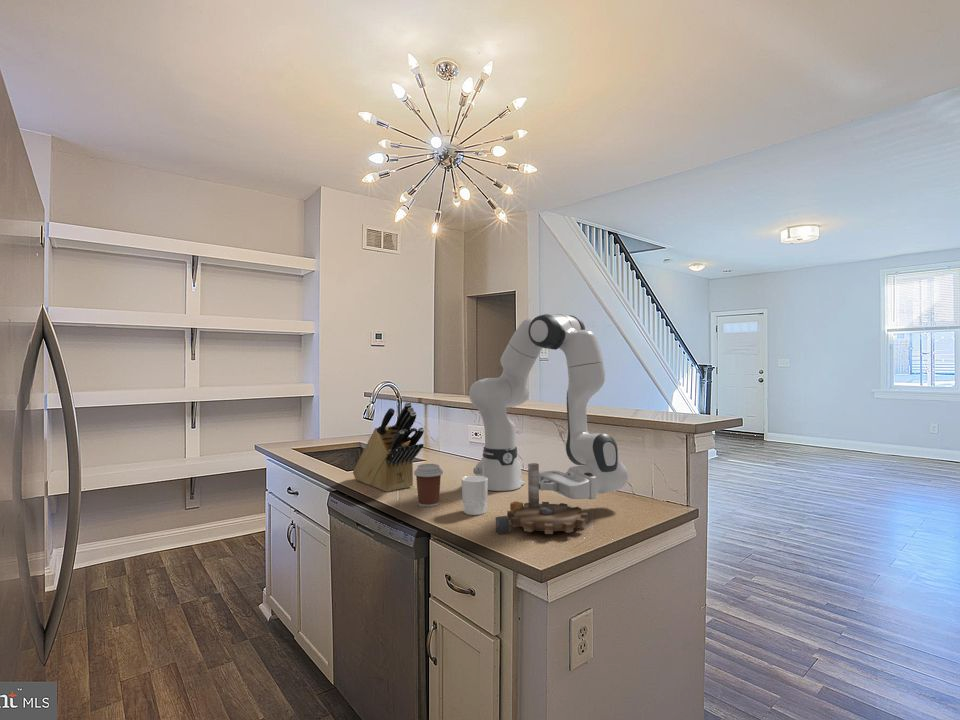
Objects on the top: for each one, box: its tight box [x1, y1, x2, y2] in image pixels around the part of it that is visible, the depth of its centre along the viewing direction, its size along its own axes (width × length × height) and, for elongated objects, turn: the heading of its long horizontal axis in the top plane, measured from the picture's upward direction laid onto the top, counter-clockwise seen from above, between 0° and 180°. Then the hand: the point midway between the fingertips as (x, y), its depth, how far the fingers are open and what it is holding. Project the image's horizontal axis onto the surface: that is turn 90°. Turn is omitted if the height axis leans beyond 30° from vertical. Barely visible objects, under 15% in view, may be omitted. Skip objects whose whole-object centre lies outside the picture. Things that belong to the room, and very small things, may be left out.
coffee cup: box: [413, 463, 444, 507], centre depth 161 cm, size 9×9×12 cm
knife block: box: [352, 401, 425, 493], centre depth 184 cm, size 11×35×31 cm, turn 39°
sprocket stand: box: [495, 515, 510, 535], centre depth 136 cm, size 8×19×4 cm, turn 113°
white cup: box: [461, 475, 488, 516], centre depth 152 cm, size 8×8×10 cm
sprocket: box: [506, 462, 589, 535], centre depth 138 cm, size 22×22×14 cm
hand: (537, 486), depth 145 cm, fingers closed, pressing on sprocket
